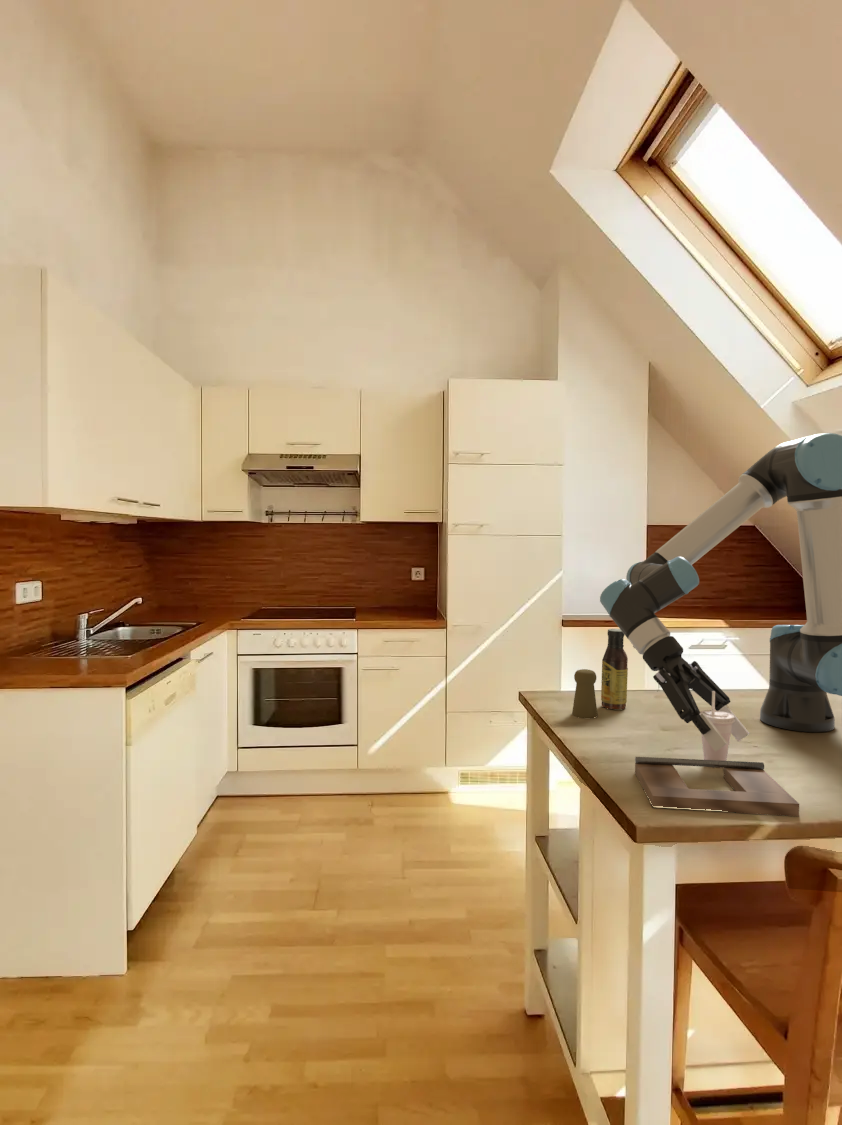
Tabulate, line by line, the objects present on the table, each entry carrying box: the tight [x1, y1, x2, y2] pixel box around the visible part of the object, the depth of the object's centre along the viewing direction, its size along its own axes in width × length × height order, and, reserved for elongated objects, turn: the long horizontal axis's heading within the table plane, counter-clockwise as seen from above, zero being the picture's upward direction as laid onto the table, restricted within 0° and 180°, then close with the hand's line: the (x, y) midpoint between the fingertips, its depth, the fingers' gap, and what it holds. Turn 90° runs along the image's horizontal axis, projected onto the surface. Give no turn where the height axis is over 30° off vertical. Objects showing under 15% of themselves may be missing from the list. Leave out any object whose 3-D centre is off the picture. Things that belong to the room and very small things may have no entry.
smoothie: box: [699, 691, 735, 769], centre depth 129 cm, size 6×6×14 cm
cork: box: [571, 668, 598, 719], centre depth 164 cm, size 6×6×11 cm
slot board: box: [634, 762, 800, 817], centre depth 115 cm, size 22×16×2 cm
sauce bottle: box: [600, 628, 629, 710], centre depth 170 cm, size 7×6×20 cm
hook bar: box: [634, 756, 765, 771], centre depth 122 cm, size 22×1×1 cm, turn 82°
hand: (733, 742), depth 127 cm, fingers open, 8 cm apart
